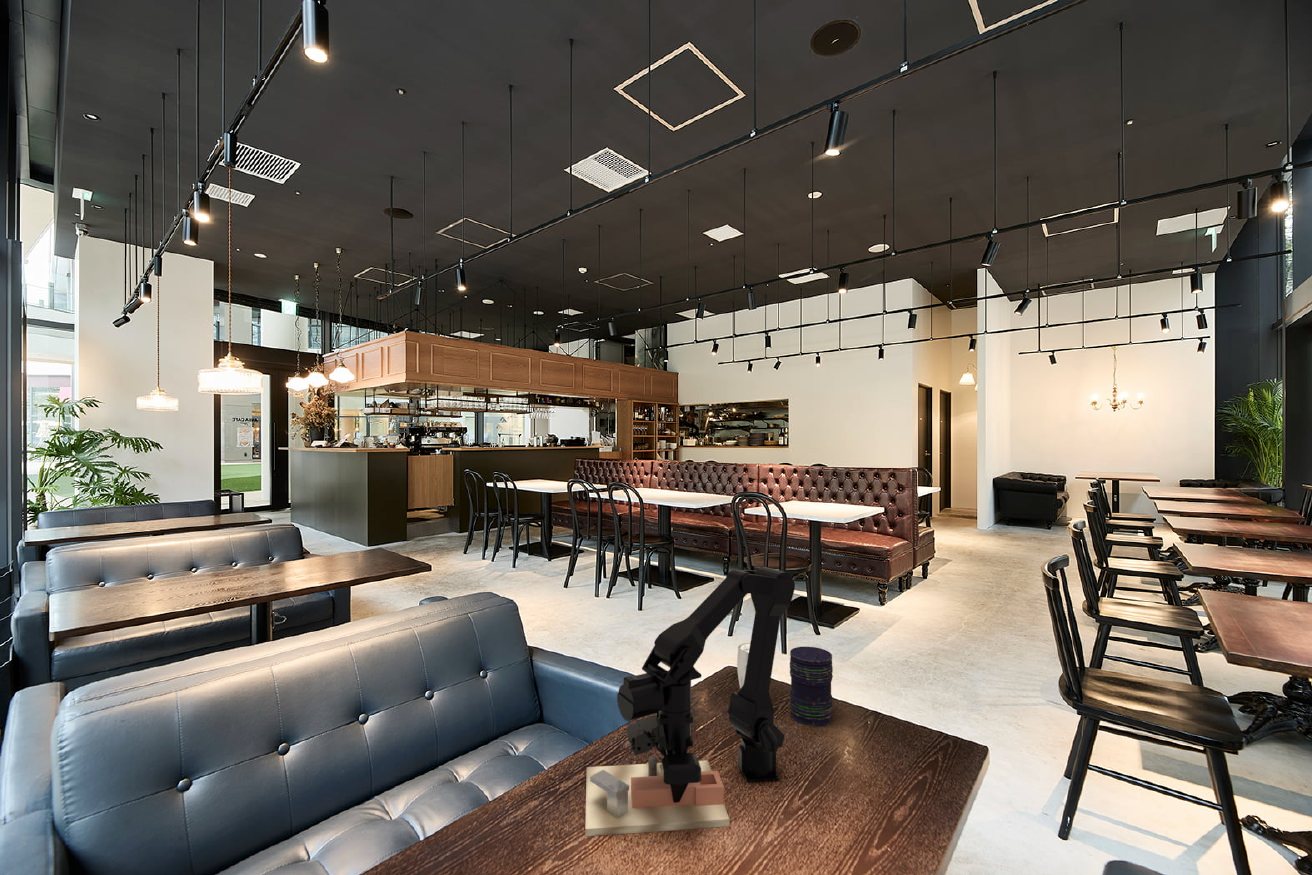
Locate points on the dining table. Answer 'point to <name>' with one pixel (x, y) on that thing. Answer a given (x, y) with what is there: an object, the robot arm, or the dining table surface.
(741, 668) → the beer glass
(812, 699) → the storage jar
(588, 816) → the board
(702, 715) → the dining table surface
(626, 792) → the block
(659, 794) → the link
